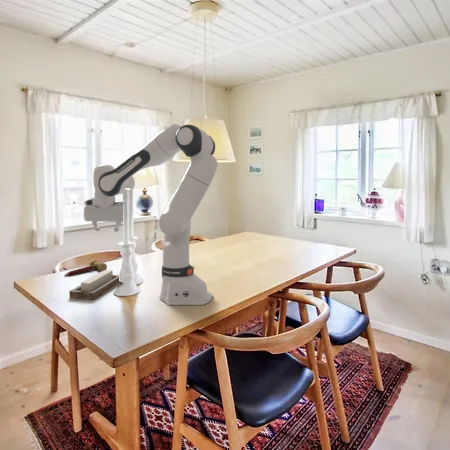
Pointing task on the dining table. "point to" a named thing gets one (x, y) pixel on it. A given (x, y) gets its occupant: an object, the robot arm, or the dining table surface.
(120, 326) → the dining table surface
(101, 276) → the clay strip
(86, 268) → the gavel
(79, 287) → the brown wooden tray
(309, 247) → the dining table surface
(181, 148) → the robot arm
